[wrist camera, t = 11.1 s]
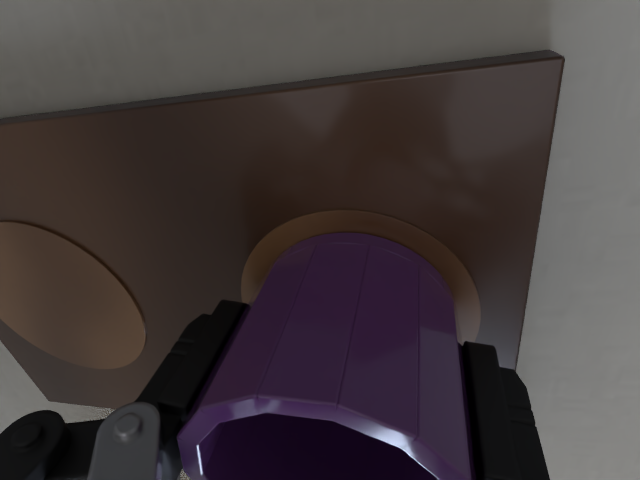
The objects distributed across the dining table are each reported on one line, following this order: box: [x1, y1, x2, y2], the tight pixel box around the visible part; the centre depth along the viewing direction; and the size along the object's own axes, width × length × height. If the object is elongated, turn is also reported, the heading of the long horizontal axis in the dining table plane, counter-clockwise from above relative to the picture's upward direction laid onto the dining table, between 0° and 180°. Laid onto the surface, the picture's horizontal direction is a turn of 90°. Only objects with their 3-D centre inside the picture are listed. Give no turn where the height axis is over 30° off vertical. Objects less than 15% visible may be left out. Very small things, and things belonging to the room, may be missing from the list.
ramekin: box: [177, 232, 478, 480], centre depth 10 cm, size 6×6×5 cm
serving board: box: [0, 50, 565, 409], centre depth 15 cm, size 22×14×1 cm, turn 99°
